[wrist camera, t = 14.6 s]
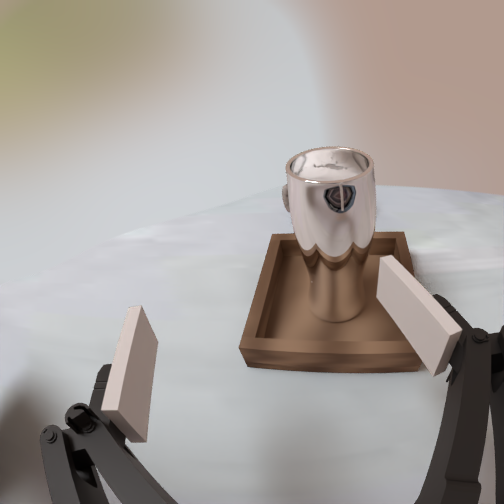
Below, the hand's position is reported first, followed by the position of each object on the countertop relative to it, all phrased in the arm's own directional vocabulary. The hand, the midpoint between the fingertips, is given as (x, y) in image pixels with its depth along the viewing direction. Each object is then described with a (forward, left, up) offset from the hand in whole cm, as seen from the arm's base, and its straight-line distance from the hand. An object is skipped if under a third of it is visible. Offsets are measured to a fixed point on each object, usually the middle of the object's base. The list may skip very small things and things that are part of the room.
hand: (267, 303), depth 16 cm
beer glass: (+3, +11, -12) cm, 17 cm away
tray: (+3, +11, -13) cm, 17 cm away
